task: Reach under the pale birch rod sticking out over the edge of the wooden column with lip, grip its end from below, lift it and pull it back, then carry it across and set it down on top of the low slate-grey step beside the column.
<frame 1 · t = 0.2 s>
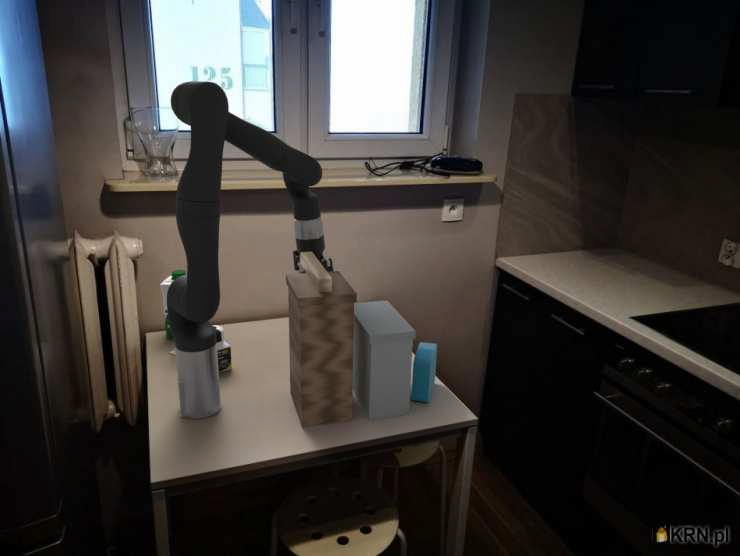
hand: (315, 289, 153), 22 cm above the table, tool pointing down, fingers open, 8 cm apart
medicine bottle: (214, 368, 156), on the table
birch rod: (315, 276, 133), point 32 cm above the table, touching wooden column with lip
milk carton: (181, 335, 176), on the table
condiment: (188, 352, 165), on the table
wooden column with lip: (319, 406, 138), on the table
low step: (376, 396, 144), on the table
data package: (423, 392, 146), on the table
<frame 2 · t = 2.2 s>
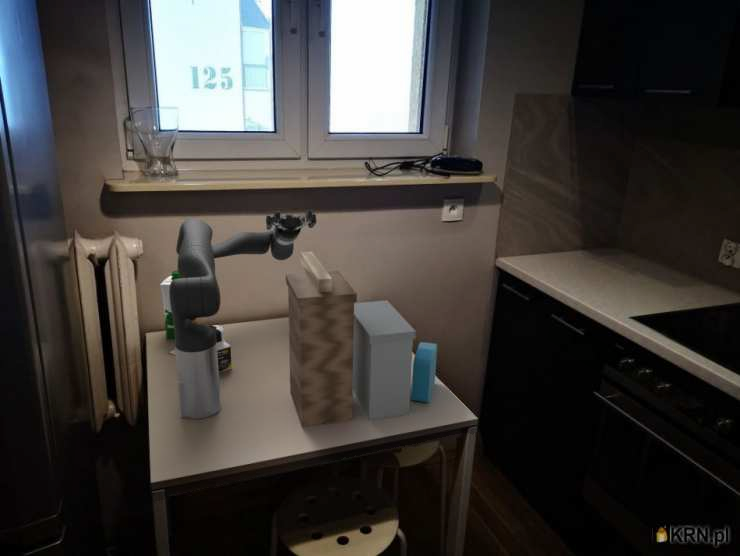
hand: (294, 214, 156), 41 cm above the table, tool pointing upward, fingers open, 8 cm apart
nothing on the table moved.
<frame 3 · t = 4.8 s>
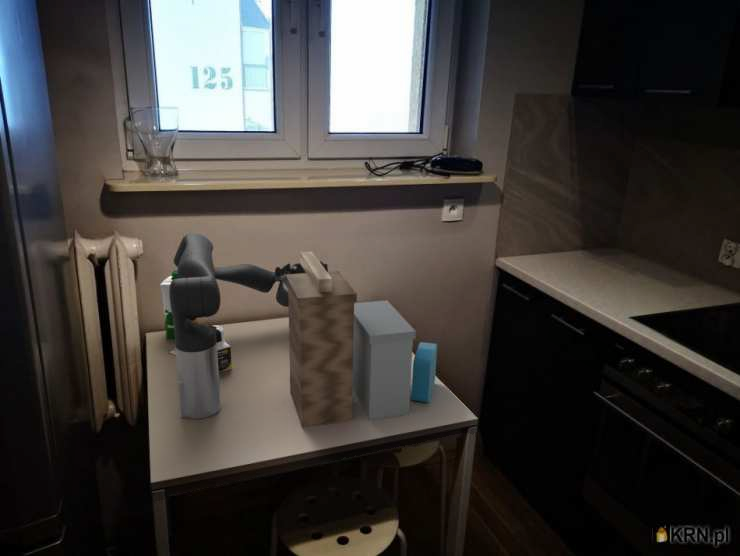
hand: (305, 266, 148), 30 cm above the table, tool pointing upward, fingers open, 8 cm apart
nothing on the table moved.
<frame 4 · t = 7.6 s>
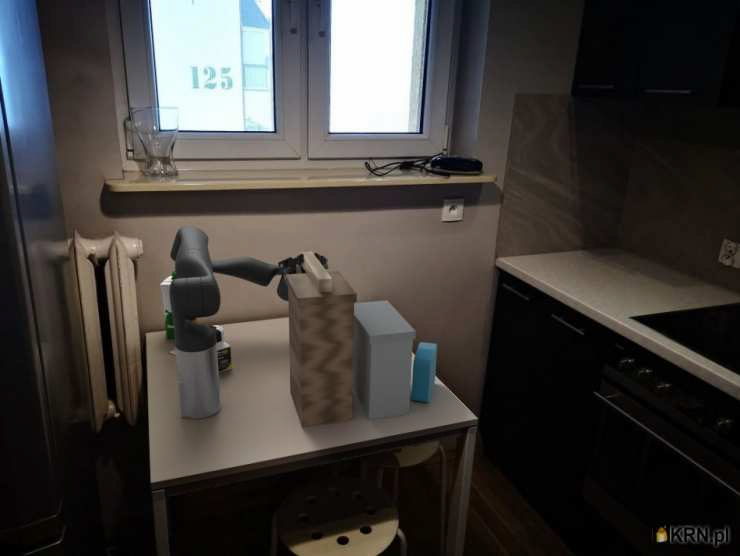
hand: (309, 257, 138), 35 cm above the table, tool pointing upward, fingers closed on birch rod, 3 cm apart
birch rod: (315, 276, 133), point 32 cm above the table, touching gripper, wooden column with lip
everything else where it was.
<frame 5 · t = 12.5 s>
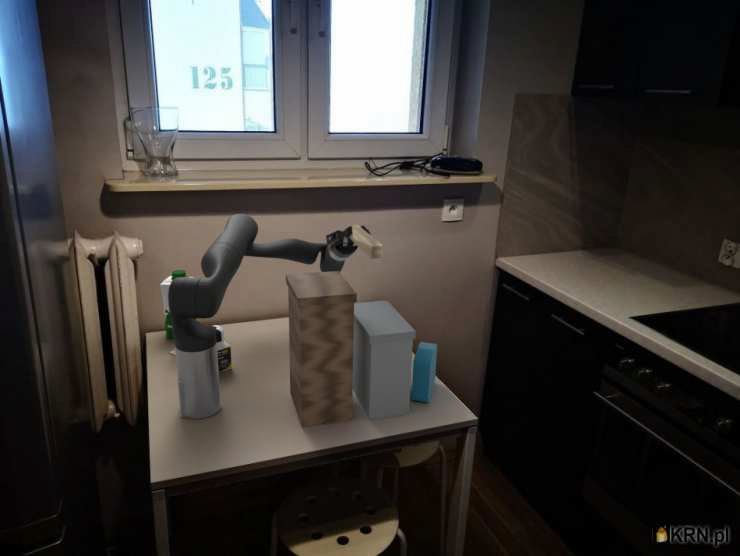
hand: (357, 229, 150), 39 cm above the table, tool pointing upward, fingers closed on birch rod, 3 cm apart
birch rod: (364, 246, 145), point 36 cm above the table, touching gripper
everything else where it was.
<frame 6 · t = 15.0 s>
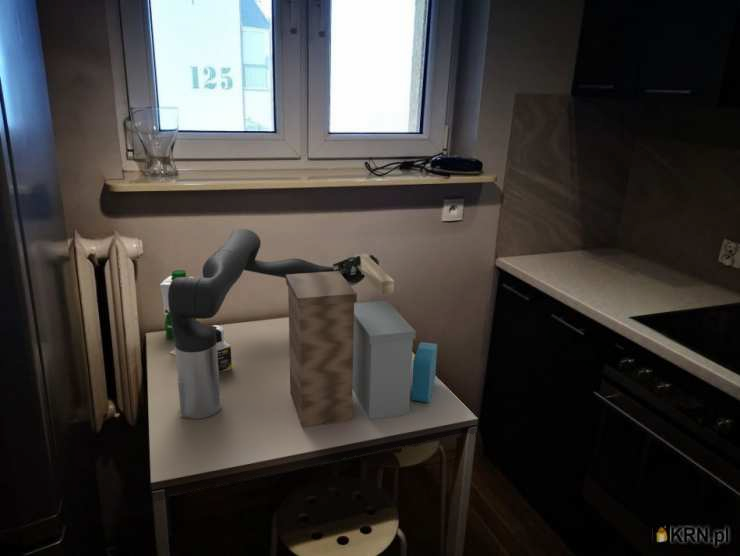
hand: (365, 259, 146), 33 cm above the table, tool pointing upward, fingers closed on birch rod, 3 cm apart
birch rod: (373, 278, 141), point 30 cm above the table, touching gripper
everything else where it was.
when the fingers open (26 cm above the table, at t = 17.1 s): birch rod drops 1 cm, resting on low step.
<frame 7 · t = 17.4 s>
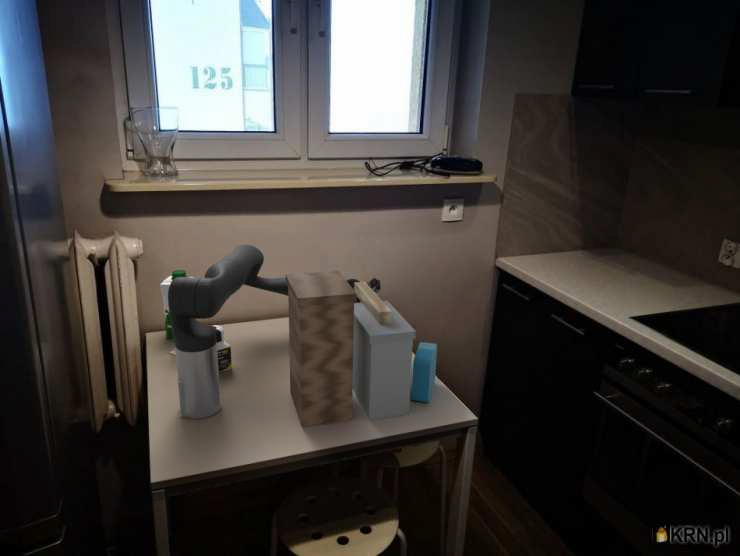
hand: (364, 282, 147), 26 cm above the table, tool pointing upward, fingers open, 5 cm apart
birch rod: (371, 306, 143), point 22 cm above the table, touching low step
everything else where it was.
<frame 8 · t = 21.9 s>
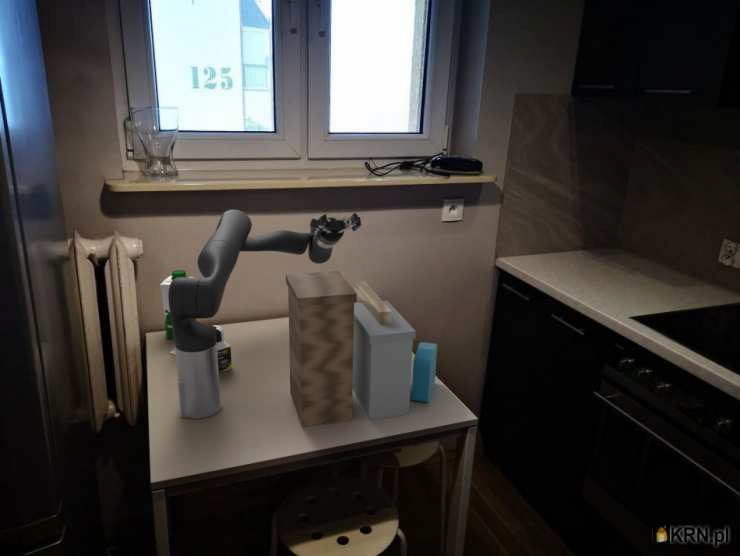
hand: (340, 217, 155), 41 cm above the table, tool pointing upward, fingers open, 8 cm apart
nothing on the table moved.
at the end: birch rod inside the target area on the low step (3.5 cm from its centre), point 22.0 cm above the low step's base; the gripper is holding nothing; birch rod tilted 0° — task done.
